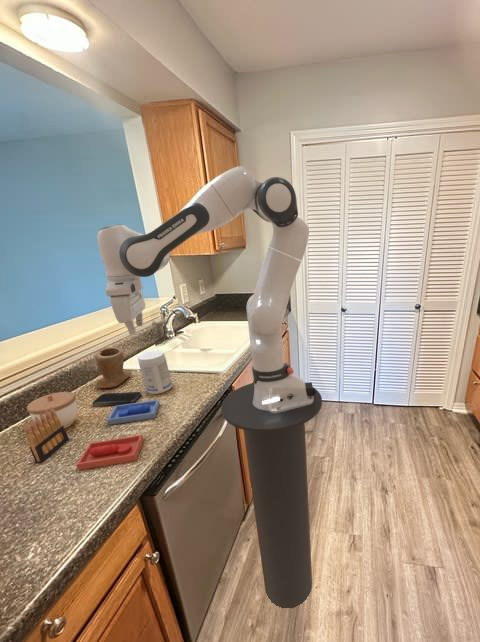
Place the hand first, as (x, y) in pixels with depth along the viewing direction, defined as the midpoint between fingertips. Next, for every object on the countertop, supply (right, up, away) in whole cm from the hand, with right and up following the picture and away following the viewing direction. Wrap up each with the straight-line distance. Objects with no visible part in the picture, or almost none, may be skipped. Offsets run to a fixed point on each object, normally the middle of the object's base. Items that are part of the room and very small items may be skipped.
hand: (137, 329), depth 101 cm
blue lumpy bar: (-5, -27, +9) cm, 29 cm away
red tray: (-1, -36, -11) cm, 38 cm away
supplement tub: (-4, -21, +26) cm, 34 cm away
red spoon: (-1, -36, -11) cm, 38 cm away
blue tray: (-5, -28, +9) cm, 30 cm away
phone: (-17, -24, +19) cm, 35 cm away
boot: (-26, -18, +35) cm, 47 cm away
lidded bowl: (-28, -31, +5) cm, 42 cm away
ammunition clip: (-20, -36, -8) cm, 42 cm away
